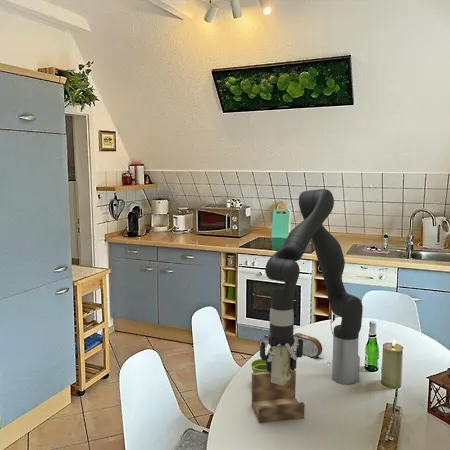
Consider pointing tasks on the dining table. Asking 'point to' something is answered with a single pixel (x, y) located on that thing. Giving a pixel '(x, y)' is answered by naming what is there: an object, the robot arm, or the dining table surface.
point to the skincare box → (280, 365)
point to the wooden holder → (275, 399)
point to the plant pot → (258, 366)
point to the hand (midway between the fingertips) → (280, 370)
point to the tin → (308, 345)
